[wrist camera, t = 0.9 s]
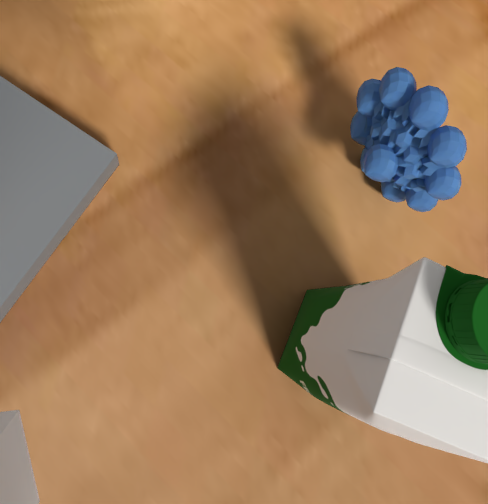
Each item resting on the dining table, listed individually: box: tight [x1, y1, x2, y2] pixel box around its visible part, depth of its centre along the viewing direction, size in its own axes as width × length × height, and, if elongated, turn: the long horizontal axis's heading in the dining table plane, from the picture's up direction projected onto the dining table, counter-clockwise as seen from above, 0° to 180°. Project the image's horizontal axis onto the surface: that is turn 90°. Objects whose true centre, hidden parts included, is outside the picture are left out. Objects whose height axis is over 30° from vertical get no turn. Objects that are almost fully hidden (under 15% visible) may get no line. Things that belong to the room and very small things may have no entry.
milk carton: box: [277, 257, 488, 463], centre depth 29 cm, size 9×9×20 cm
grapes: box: [350, 67, 467, 212], centre depth 36 cm, size 12×7×12 cm, turn 37°
